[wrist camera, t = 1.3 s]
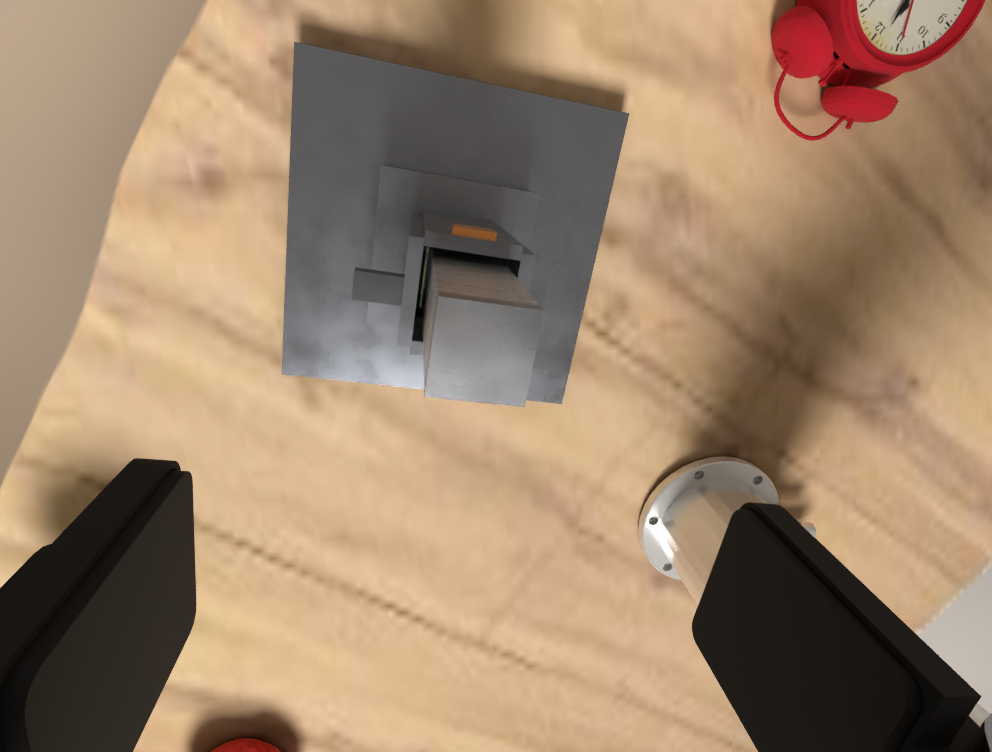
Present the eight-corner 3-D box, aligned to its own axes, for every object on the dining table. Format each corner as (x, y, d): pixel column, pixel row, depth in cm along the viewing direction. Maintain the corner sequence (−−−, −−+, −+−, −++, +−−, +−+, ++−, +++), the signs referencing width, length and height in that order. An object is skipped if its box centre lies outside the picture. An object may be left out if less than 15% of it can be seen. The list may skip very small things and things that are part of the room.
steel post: (484, 235, 32) (548, 307, 16) (475, 292, 33) (527, 410, 18) (426, 226, 31) (435, 292, 16) (418, 284, 32) (420, 399, 17)
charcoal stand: (620, 115, 36) (758, 86, 21) (556, 395, 42) (628, 516, 28) (299, 46, 32) (204, -44, 18) (286, 366, 39) (210, 488, 24)
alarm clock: (1048, -60, 32) (912, 162, 32) (939, -8, 38) (824, 179, 38) (948, -205, 29) (798, 44, 29) (845, -123, 35) (721, 83, 35)
